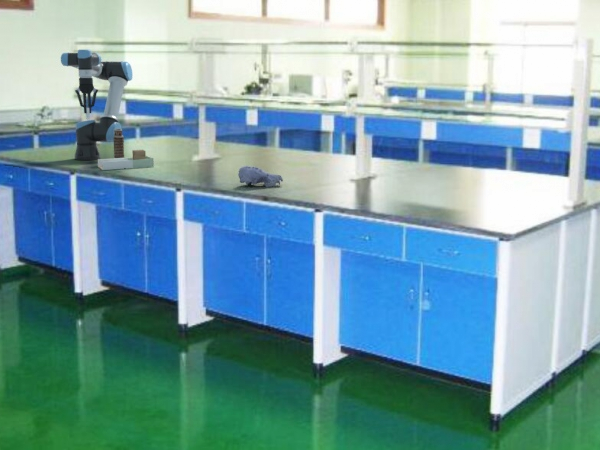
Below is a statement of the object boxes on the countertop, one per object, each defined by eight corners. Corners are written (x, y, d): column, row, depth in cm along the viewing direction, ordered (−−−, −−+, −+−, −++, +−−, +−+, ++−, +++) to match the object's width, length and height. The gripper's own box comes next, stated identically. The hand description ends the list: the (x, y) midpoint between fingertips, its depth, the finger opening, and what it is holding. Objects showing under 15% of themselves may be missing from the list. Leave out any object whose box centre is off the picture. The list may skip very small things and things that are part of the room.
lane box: (98, 167, 480) (97, 158, 479) (148, 164, 492) (147, 155, 491) (102, 170, 469) (102, 161, 468) (153, 166, 481) (153, 157, 480)
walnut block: (132, 160, 484) (132, 150, 483) (143, 159, 487) (142, 149, 485) (135, 161, 479) (135, 151, 478) (145, 161, 481) (145, 150, 480)
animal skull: (280, 192, 410) (281, 172, 407) (235, 188, 412) (236, 168, 409) (284, 184, 423) (285, 165, 419) (240, 181, 425) (241, 162, 421)
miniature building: (111, 164, 490) (109, 130, 486) (108, 162, 500) (106, 128, 496) (129, 163, 494) (128, 129, 490) (126, 161, 504) (124, 127, 499)
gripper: (75, 77, 471) (77, 120, 476) (98, 77, 477) (100, 119, 482) (72, 77, 478) (75, 119, 483) (95, 76, 484) (98, 118, 489)
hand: (88, 119), depth 482 cm, fingers closed
